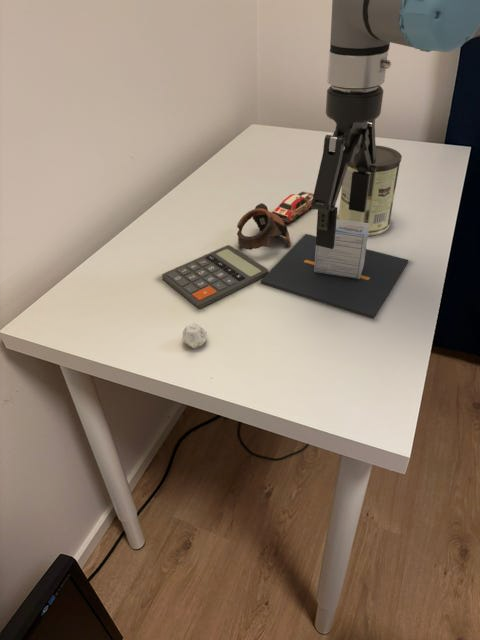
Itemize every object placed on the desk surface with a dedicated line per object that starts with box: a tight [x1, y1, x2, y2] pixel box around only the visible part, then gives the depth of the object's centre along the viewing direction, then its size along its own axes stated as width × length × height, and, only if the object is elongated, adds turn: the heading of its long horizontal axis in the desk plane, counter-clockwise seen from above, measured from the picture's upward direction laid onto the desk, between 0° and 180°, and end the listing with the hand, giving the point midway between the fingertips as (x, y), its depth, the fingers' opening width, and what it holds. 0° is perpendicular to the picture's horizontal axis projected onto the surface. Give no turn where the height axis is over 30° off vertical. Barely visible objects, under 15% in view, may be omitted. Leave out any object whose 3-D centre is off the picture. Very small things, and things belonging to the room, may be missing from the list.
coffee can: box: [338, 145, 403, 237], centre depth 93 cm, size 10×10×14 cm
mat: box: [260, 233, 409, 320], centre depth 84 cm, size 20×18×1 cm
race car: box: [271, 191, 314, 224], centre depth 101 cm, size 5×12×5 cm, turn 137°
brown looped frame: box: [236, 203, 292, 251], centre depth 92 cm, size 12×10×8 cm
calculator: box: [161, 244, 269, 309], centre depth 85 cm, size 12×1×15 cm
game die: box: [181, 322, 208, 349], centre depth 71 cm, size 4×4×3 cm
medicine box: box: [314, 218, 369, 279], centre depth 81 cm, size 8×4×9 cm, turn 70°
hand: (341, 227), depth 79 cm, fingers open, 13 cm apart
